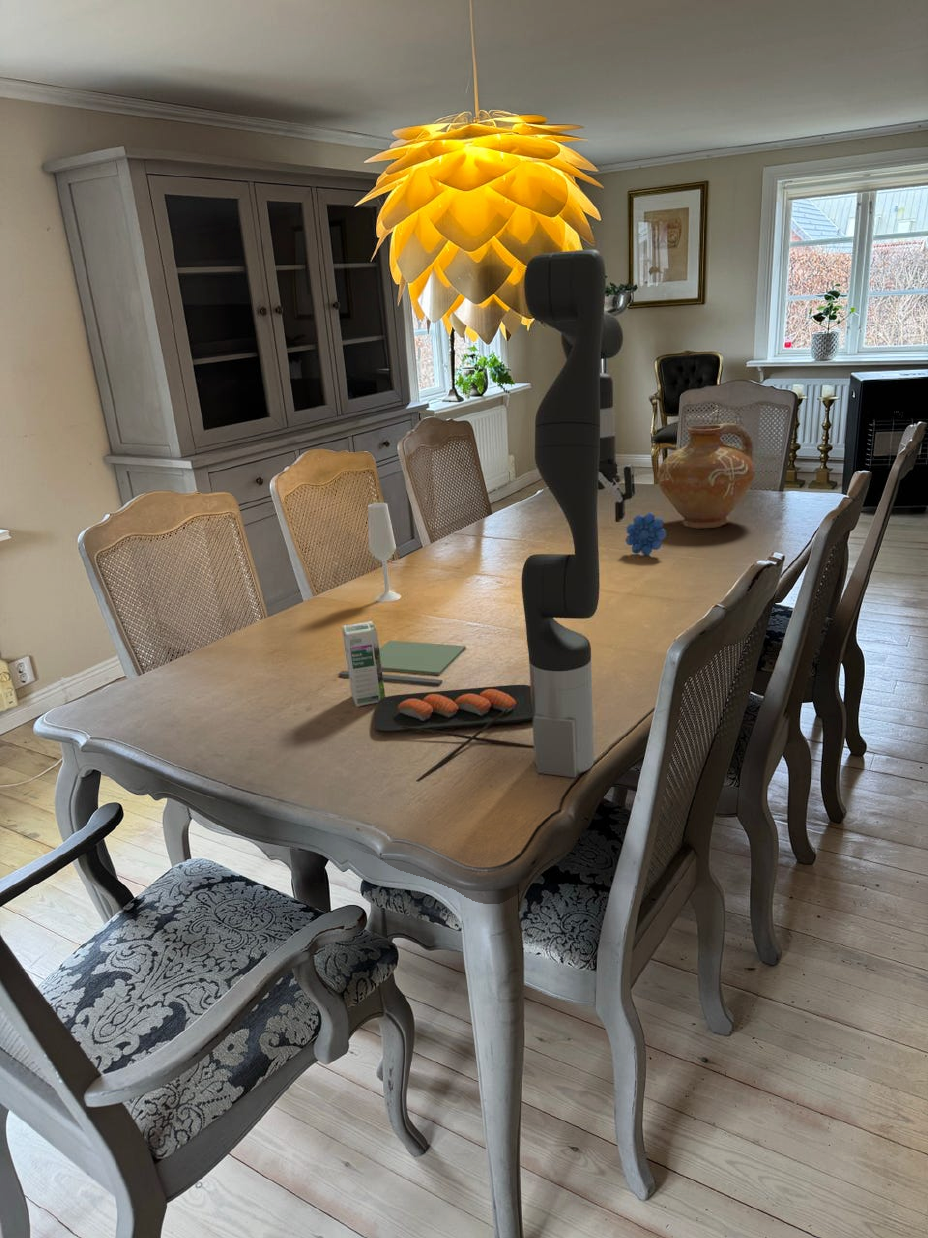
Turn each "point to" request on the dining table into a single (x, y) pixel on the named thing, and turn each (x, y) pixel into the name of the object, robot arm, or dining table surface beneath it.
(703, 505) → the jug
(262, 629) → the dining table surface
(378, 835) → the dining table surface
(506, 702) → the sushi plate
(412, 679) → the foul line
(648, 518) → the blue bumpy cluster
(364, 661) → the syrup box
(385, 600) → the champagne flute
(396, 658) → the mat
